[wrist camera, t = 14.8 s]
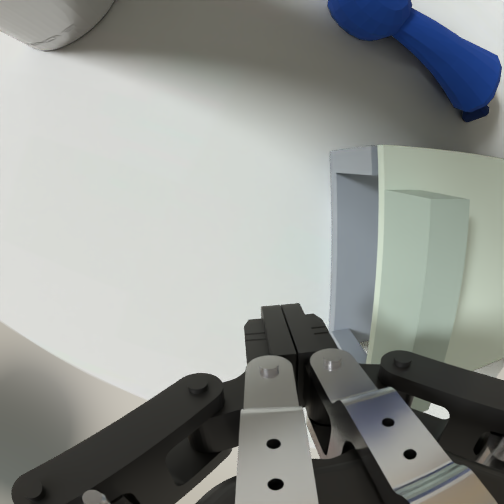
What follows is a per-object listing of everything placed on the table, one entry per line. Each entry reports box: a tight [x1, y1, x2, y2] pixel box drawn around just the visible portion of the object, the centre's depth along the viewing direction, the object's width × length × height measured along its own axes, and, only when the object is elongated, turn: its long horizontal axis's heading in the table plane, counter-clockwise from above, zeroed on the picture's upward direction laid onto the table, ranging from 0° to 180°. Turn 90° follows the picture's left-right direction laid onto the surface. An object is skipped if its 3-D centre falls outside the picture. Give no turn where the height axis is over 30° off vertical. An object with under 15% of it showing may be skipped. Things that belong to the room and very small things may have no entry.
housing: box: [329, 146, 379, 364], centre depth 19 cm, size 14×27×7 cm, turn 93°
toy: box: [327, 0, 502, 123], centre depth 15 cm, size 7×6×15 cm
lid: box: [366, 145, 504, 412], centre depth 13 cm, size 14×14×4 cm
